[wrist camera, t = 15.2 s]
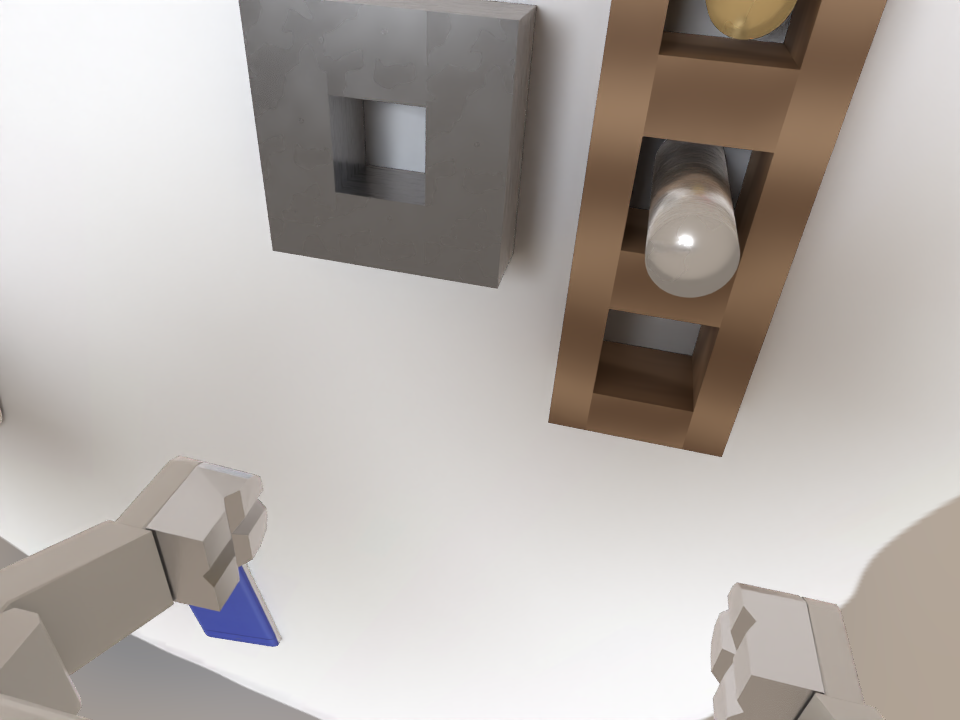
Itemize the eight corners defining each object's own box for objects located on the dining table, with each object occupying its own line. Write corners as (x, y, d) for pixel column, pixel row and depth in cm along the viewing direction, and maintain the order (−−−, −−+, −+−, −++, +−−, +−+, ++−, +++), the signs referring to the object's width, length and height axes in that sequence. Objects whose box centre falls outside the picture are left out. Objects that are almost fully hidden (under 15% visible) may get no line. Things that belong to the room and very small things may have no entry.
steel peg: (715, 201, 33) (726, 304, 25) (648, 191, 33) (637, 289, 25) (733, 134, 31) (751, 222, 23) (661, 125, 31) (654, 208, 23)
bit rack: (717, 398, 39) (721, 456, 35) (561, 369, 40) (548, 422, 36) (912, -185, 24) (958, -198, 20) (649, -198, 25) (643, -213, 21)
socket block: (513, 253, 37) (497, 288, 34) (306, 220, 39) (272, 250, 35) (536, 5, 30) (518, 20, 26) (282, -20, 32) (237, -9, 28)
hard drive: (155, 552, 61) (204, 636, 68) (235, 562, 59) (277, 648, 65) (166, 539, 62) (212, 623, 69) (244, 548, 60) (284, 633, 67)
